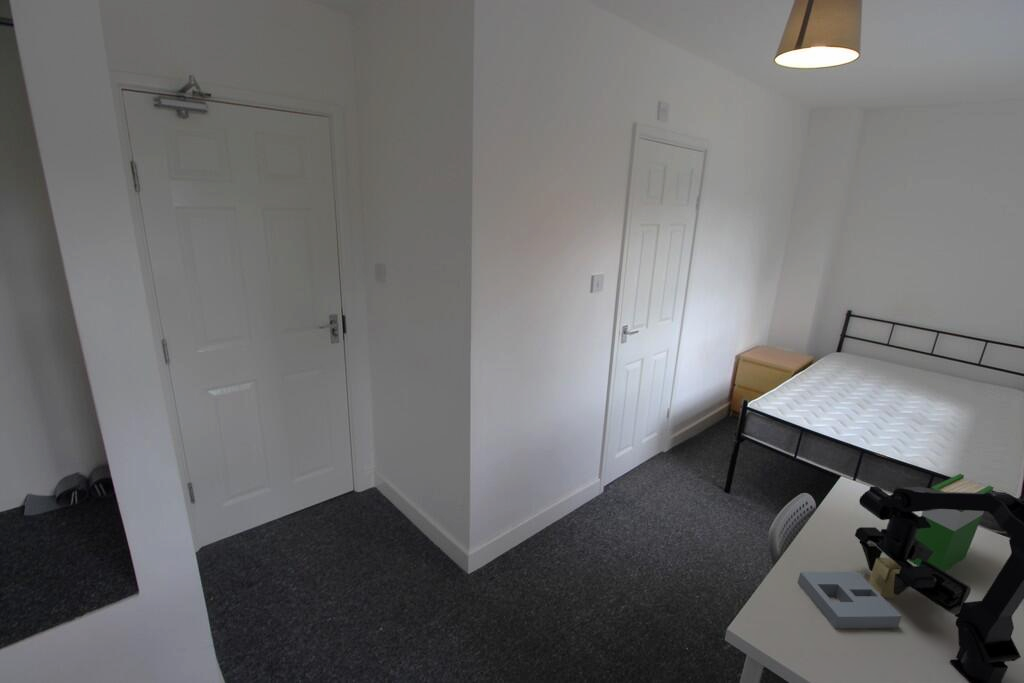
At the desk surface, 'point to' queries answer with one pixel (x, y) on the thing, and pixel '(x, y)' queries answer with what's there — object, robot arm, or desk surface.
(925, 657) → the desk surface
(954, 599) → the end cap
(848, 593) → the slate bore board
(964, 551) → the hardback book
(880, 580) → the brass square bit
